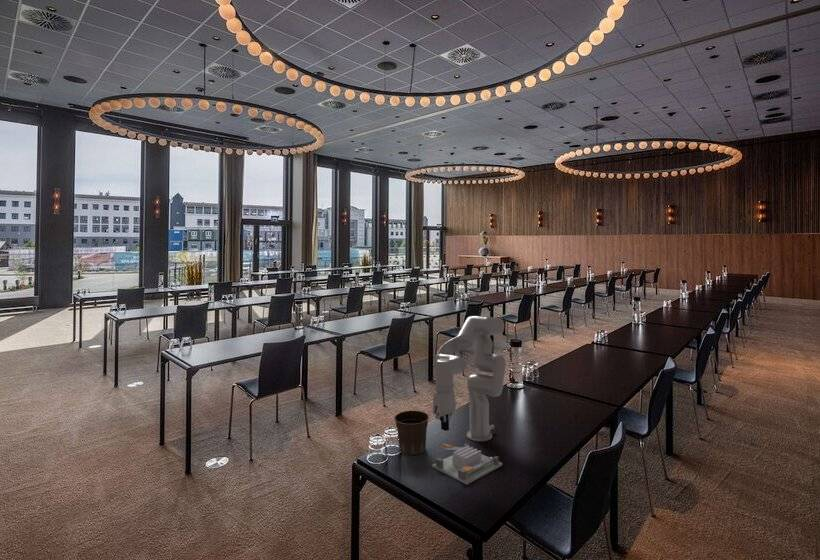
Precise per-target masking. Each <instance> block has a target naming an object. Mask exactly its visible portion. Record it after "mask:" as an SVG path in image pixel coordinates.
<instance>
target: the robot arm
mask: <svg viewBox="0 0 820 560" xmlns="http://www.w3.org/2000/svg"><path fill="white" fill-rule="evenodd" d="M504 330H505V322H504V320H503V319H502V318H500V317H491V316H480V315H470V316H468V317H466V319H465V321H464V323H463V324H462V326H461V327H460V330H459V331H458V333H457V335H456V336H455V337H453V338H450V339H449V340H447V341H446V342H444V343H443V344H442V345H441V346H440V347H439V349H438V351H437V353H436V355H435V357H434V359H433V366H434V368H435V371H434V372H435V391H434V394H433V399H432V414H433V415H434V418H435V420H439V421H440V430H442V431H445V432H447V431H450V421H451V416H452V415H453V414H455V411H456V408H457V407H456V404H457V403H456V396H455V395H456V394H455V390H454V386H455V384H454V375H457V374H461V373H463V372H464V371H465V369H466V368H467V361H466V359H465V358H464V357H463V356H460V355H456V354H455V355H453V354H454V353H457V352H462V351H465V350H468V349H471V348H472V347H473V346H474V344H475V346H474V347H475V348H474V353H473V361H472V363H473V364H472V365H473V369H474V370H475V371H478V372H483V373H490V374H492V375H489V374H481V373H471V374H470V375H469V376H468V377H467V379H466V386H467V391H468V398H469V399H468V400H469V401H468V402H469V403H468V404H469V406H468V407H469V430H468V431H467V432H466V437H467V439H469V440H471V441H474V442H479V443H481V442H488V441H491V439H492V438H493V434H492V432H491V430H493V429H495V425H494V424H491V425H490V411H489V409H490V404H489V399H488V397H487V396H489V397H500V396H501V394H502V392H503V389H504V383H505V381H504V380H505V374H506V373H505V372H506V360H505V357H504V356H503V355H502V354H499V353H493V347H494V345H493V344H494V343H493V340H492V338H491V336H500V335H502V334H503V333H504Z"/></svg>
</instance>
